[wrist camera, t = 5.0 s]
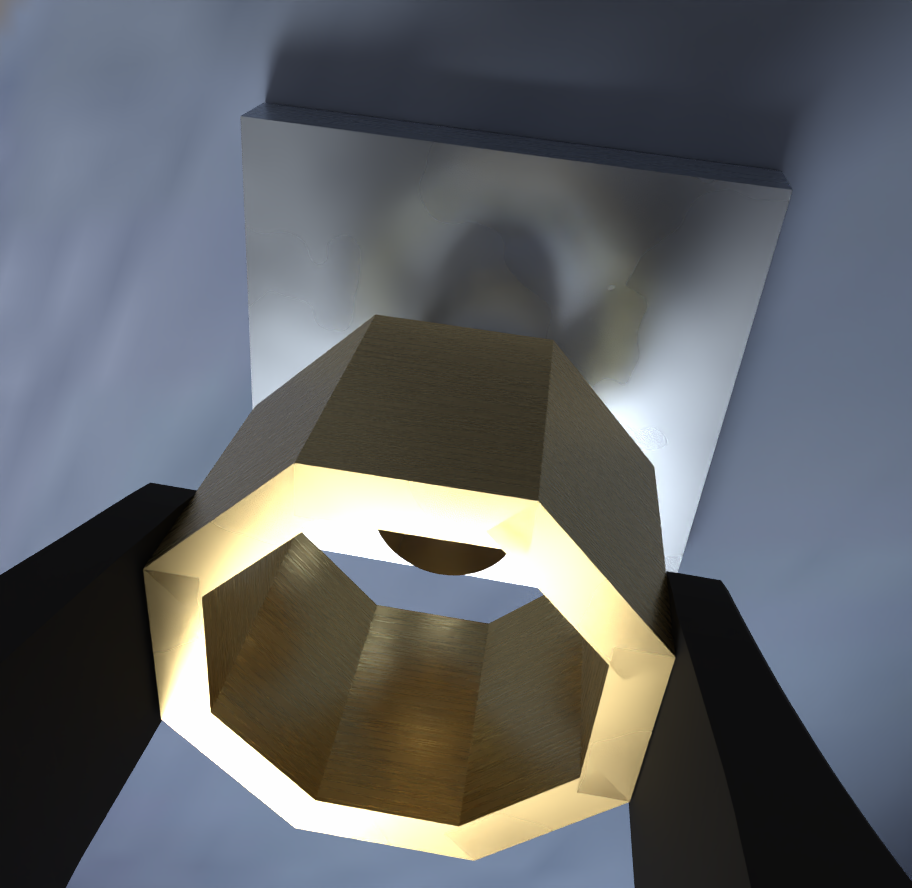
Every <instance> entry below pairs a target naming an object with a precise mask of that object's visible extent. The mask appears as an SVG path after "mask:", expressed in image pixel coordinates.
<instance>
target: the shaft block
mask: <svg viewBox="0 0 912 888" xmlns="http://www.w3.org/2000/svg"><path fill="white" fill-rule="evenodd" d="M241 140H242V164H243V187H244V211H245V235H246V259H247V283H248V306H249V330H250V354H251V378H252V402H253V409H254V407H255V406H256V405H257V404H259V403H260V402H261V401H262V400H264V399H265V398H266V397H268V396H269V395H270V394H272V393H273V392H274V391H276V390H277V389H278V388H280V387H281V386H282V385H283V384H285V383H286V382H287V381H289V380H290V379H291V378H293V377H294V376H295V375H297V374H298V373H299V372H301V371H302V370H303V369H305V368H306V367H307V366H308V365H310V364H311V363H312V362H314V361H315V360H316V359H318V358H319V357H320V356H322V355H323V354H324V353H326V352H327V351H328V350H329V349H331V348H332V347H333V346H335V345H336V344H337V343H339V342H340V341H341V340H343V339H344V338H345V337H347V336H348V335H349V334H351V333H352V332H353V331H354V330H356V329H357V328H358V327H360V326H361V325H362V324H364V323H365V322H366V321H368V320H369V319H370V318H372V317H373V316H374V315H375V314H377V315H384V316H391V317H397V318H404V319H411V320H418V321H425V322H432V323H439V324H446V325H453V326H460V327H467V328H474V329H481V330H488V331H495V332H501V333H508V334H515V335H522V336H529V337H536V338H543V339H550V340H554V341H555V342H556V344H557V345H558V346H559V348H560V349H561V350H562V351H563V353H564V354H565V355H566V356H567V358H568V359H569V360H570V361H571V363H572V364H573V365H574V366H575V368H576V369H577V370H578V371H579V373H580V374H581V375H582V376H583V378H584V379H585V380H586V381H587V383H588V384H589V385H590V386H591V388H592V389H593V390H594V391H595V393H596V394H597V395H598V396H599V398H600V399H601V400H602V401H603V403H604V404H605V405H606V406H607V408H608V409H609V410H610V411H611V413H612V414H613V415H614V416H615V418H616V419H617V420H618V421H619V423H620V424H621V425H622V426H623V428H624V429H625V430H626V431H627V433H628V434H629V435H630V436H631V438H632V439H633V440H634V441H635V443H636V444H637V445H638V446H639V448H640V449H641V450H642V451H643V453H644V454H645V455H646V456H647V458H648V459H649V460H650V461H651V463H652V464H653V465H654V467H655V476H656V485H657V494H658V503H659V512H660V521H661V530H662V539H663V548H664V557H665V567H666V572H667V571H669V572H675V573H678V570H679V566H680V563H681V560H682V556H683V553H684V550H685V546H686V543H687V540H688V536H689V533H690V530H691V526H692V523H693V520H694V516H695V513H696V510H697V506H698V503H699V500H700V496H701V493H702V490H703V486H704V483H705V480H706V476H707V473H708V470H709V466H710V463H711V460H712V456H713V453H714V450H715V446H716V443H717V440H718V436H719V433H720V430H721V426H722V423H723V420H724V416H725V413H726V410H727V406H728V403H729V400H730V396H731V393H732V390H733V386H734V383H735V380H736V376H737V373H738V370H739V367H740V363H741V360H742V357H743V353H744V350H745V347H746V343H747V340H748V337H749V333H750V330H751V327H752V323H753V320H754V317H755V313H756V310H757V307H758V303H759V300H760V297H761V293H762V290H763V287H764V283H765V280H766V277H767V273H768V270H769V267H770V263H771V260H772V257H773V253H774V250H775V247H776V243H777V240H778V237H779V233H780V230H781V227H782V223H783V220H784V217H785V213H786V210H787V207H788V203H789V200H790V197H791V193H792V188H791V187H790V185H789V183H788V181H787V180H786V178H785V176H784V175H783V173H782V171H777V170H769V169H762V168H754V167H747V166H739V165H732V164H724V163H716V162H709V161H701V160H694V159H686V158H679V157H671V156H664V155H656V154H648V153H641V152H633V151H626V150H618V149H611V148H603V147H595V146H588V145H580V144H573V143H565V142H558V141H550V140H542V139H535V138H527V137H520V136H512V135H505V134H497V133H489V132H482V131H474V130H467V129H459V128H452V127H444V126H436V125H429V124H421V123H414V122H406V121H399V120H391V119H384V118H376V117H368V116H361V115H353V114H346V113H338V112H331V111H323V110H315V109H308V108H300V107H293V106H285V105H278V104H270V103H262V104H261V105H259V106H257V107H255V108H254V109H252V110H250V111H249V112H247V113H245V114H243V115H242V116H241ZM303 533H304V534H305V535H306V536H307V537H308V538H309V539H310V540H311V541H312V542H313V543H314V544H315V545H316V546H317V547H318V548H319V549H321V550H327V551H333V552H338V553H344V554H350V555H355V556H361V557H367V558H372V559H378V560H384V561H389V562H395V563H401V564H407V565H412V566H416V567H418V568H420V569H423V570H426V571H429V572H432V573H437V574H443V575H469V576H475V577H481V578H486V579H492V580H498V581H503V582H509V583H515V584H520V585H526V586H532V587H537V586H536V585H535V584H534V583H533V582H532V581H531V580H530V579H529V577H528V576H527V575H526V574H525V573H524V572H523V571H522V570H521V569H520V568H519V567H518V566H517V564H516V563H515V562H514V561H513V560H512V559H511V558H510V557H509V556H508V555H507V554H506V553H505V551H504V550H503V549H498V548H492V547H485V546H479V545H473V544H467V543H460V542H454V541H448V540H442V539H436V538H429V537H423V536H417V535H411V534H404V533H398V532H392V531H386V530H379V529H373V528H367V527H361V526H354V525H348V524H342V523H336V522H329V521H323V520H319V521H318V522H316V523H315V524H313V525H312V526H310V527H309V528H307V529H306V530H304V531H303Z"/></svg>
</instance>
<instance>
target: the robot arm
mask: <svg viewBox="0 0 912 888" xmlns="http://www.w3.org/2000/svg"><path fill="white" fill-rule="evenodd" d="M195 494H196V490H190V489H185V488H179V487H173V486H167V485H161V484H155V483H149V484H147V485H145V486H144V487H142V488H140V489H139V490H137V491H135V492H133V493H132V494H130V495H128V496H127V497H125V498H124V499H122V500H120V501H119V502H117V503H115V504H114V505H112V506H111V507H109V508H107V509H106V510H104V511H103V512H101V513H100V514H98V515H96V516H95V517H93V518H92V519H90V520H88V521H87V522H85V523H84V524H82V525H81V526H79V527H77V528H76V529H74V530H73V531H71V532H69V533H68V534H66V535H65V536H63V537H61V538H60V539H58V540H57V541H55V542H53V543H52V544H50V545H48V546H47V547H45V548H44V549H42V550H40V551H39V552H37V553H35V554H34V555H32V556H31V557H29V558H27V559H26V560H24V561H22V562H21V563H19V564H17V565H16V566H14V567H13V568H11V569H9V570H8V571H6V572H4V573H3V574H1V575H0V888H66V886H67V884H68V882H69V880H70V878H71V877H72V875H73V873H74V871H75V869H76V867H77V865H78V863H79V862H80V860H81V858H82V856H83V854H84V853H85V851H86V849H87V848H88V846H89V844H90V843H91V841H92V839H93V837H94V836H95V834H96V832H97V831H98V829H99V827H100V825H101V824H102V822H103V820H104V819H105V817H106V815H107V813H108V812H109V810H110V808H111V807H112V805H113V803H114V802H115V800H116V798H117V796H118V795H119V793H120V791H121V790H122V788H123V786H124V784H125V783H126V781H127V779H128V778H129V776H130V774H131V772H132V771H133V769H134V767H135V766H136V764H137V762H138V761H139V759H140V757H141V755H142V754H143V752H144V750H145V749H146V747H147V745H148V743H149V742H150V740H151V738H152V736H153V735H154V733H155V731H156V729H157V728H158V726H159V724H160V723H161V721H162V719H161V713H160V705H159V697H158V688H157V680H156V672H155V663H154V655H153V647H152V638H151V630H150V622H149V614H148V605H147V597H146V589H145V580H144V572H143V568H144V567H145V565H146V564H147V563H148V561H149V560H150V558H151V557H152V555H153V554H154V552H155V551H156V550H157V548H158V547H159V545H160V544H161V542H162V541H163V539H164V538H165V536H166V535H167V534H168V532H169V531H170V529H171V528H172V526H173V525H174V523H175V522H176V521H177V519H178V518H179V516H180V515H181V513H182V512H183V511H184V509H185V508H186V506H187V505H188V504H189V502H190V501H191V499H192V498H193V496H194V495H195ZM666 576H667V585H668V594H669V604H670V615H671V627H672V636H673V641H674V648H675V657H676V658H675V660H674V664H673V667H672V670H671V673H670V676H669V679H668V683H667V686H666V689H665V692H664V695H663V698H662V702H661V705H660V708H659V711H658V714H657V717H656V720H655V724H654V727H653V730H652V733H651V736H650V739H649V743H648V746H647V749H646V752H645V755H644V758H643V762H642V765H641V768H640V771H639V774H638V777H637V780H636V784H635V787H634V790H633V793H632V796H631V799H630V802H629V813H630V828H631V843H632V857H633V871H634V885H635V888H912V881H911V880H910V878H909V877H908V876H907V875H906V873H905V872H904V871H903V869H902V868H901V867H900V865H899V864H898V863H897V861H896V860H895V859H894V857H893V856H892V855H891V853H890V852H889V851H888V849H887V848H886V846H885V845H884V844H883V842H882V841H881V840H880V838H879V837H878V835H877V834H876V833H875V831H874V830H873V828H872V827H871V826H870V824H869V823H868V821H867V820H866V819H865V817H864V816H863V814H862V813H861V811H860V810H859V808H858V807H857V806H856V804H855V803H854V801H853V800H852V798H851V797H850V795H849V794H848V792H847V791H846V790H845V788H844V787H843V785H842V784H841V782H840V781H839V779H838V778H837V776H836V775H835V773H834V772H833V770H832V769H831V767H830V766H829V764H828V763H827V761H826V760H825V758H824V756H823V755H822V753H821V752H820V750H819V749H818V747H817V745H816V744H815V742H814V741H813V739H812V737H811V736H810V734H809V733H808V731H807V729H806V728H805V726H804V724H803V723H802V721H801V720H800V718H799V716H798V715H797V713H796V711H795V710H794V708H793V707H792V705H791V703H790V702H789V700H788V698H787V697H786V695H785V693H784V692H783V690H782V688H781V686H780V685H779V683H778V681H777V680H776V678H775V676H774V674H773V673H772V671H771V669H770V667H769V666H768V664H767V662H766V660H765V658H764V657H763V655H762V653H761V651H760V650H759V648H758V646H757V644H756V642H755V640H754V639H753V637H752V635H751V633H750V631H749V629H748V627H747V626H746V624H745V622H744V620H743V618H742V616H741V614H740V612H739V610H738V609H737V607H736V605H735V603H734V601H733V599H732V597H731V595H730V593H729V591H728V590H727V588H726V587H725V585H724V584H723V583H722V581H721V580H716V579H710V578H704V577H698V576H692V575H686V574H681V573H675V572H669V571H667V572H666Z"/></svg>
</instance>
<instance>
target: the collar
mask: <svg viewBox="0 0 912 888" xmlns="http://www.w3.org/2000/svg"><path fill="white" fill-rule="evenodd" d="M319 520H323V521H329V522H336V523H342V524H348V525H354V526H361V527H367V528H373V529H379V530H386V531H392V532H398V533H404V534H411V535H417V536H423V537H429V538H436V539H442V540H448V541H454V542H460V543H467V544H473V545H479V546H485V547H492V548H498V549H503V550H504V551H505V553H506V554H507V555H508V556H509V557H510V558H511V559H512V560H513V561H514V562H515V563H516V564H517V566H518V567H519V568H520V569H521V570H522V571H523V572H524V573H525V574H526V575H527V576H528V577H529V579H530V580H531V581H532V582H533V583H534V584H535V585H536V586H537V587H538V588H539V589H540V591H541V592H542V593H543V594H544V595H543V596H541V597H539V598H537V599H535V600H534V601H532V602H530V603H528V604H526V605H524V606H522V607H520V608H518V609H516V610H514V611H512V612H510V613H508V614H507V615H505V616H503V617H501V618H499V619H497V620H495V621H493V622H491V623H489V624H488V623H482V622H476V621H470V620H464V619H457V618H451V617H445V616H439V615H433V614H427V613H421V612H415V611H409V610H403V609H397V608H391V607H385V606H379V605H376V604H375V603H374V602H373V601H372V600H371V599H370V598H369V597H368V596H367V595H366V594H365V593H364V592H363V591H362V590H361V589H360V588H359V587H358V586H357V585H356V584H355V583H354V582H353V581H352V580H351V579H350V578H349V577H348V576H347V575H346V574H344V573H343V572H342V571H341V570H340V569H339V568H338V567H337V566H336V565H335V564H334V563H333V562H332V561H331V560H330V559H329V558H328V557H327V556H326V555H325V554H324V553H323V552H322V551H321V550H320V549H319V548H318V547H317V546H316V545H315V544H314V543H313V542H312V541H311V540H310V539H309V538H308V537H307V536H306V535H305V534H304V533H303V531H304V530H306V529H307V528H309V527H310V526H312V525H313V524H315V523H316V522H318V521H319ZM143 572H144V580H145V589H146V597H147V605H148V614H149V622H150V630H151V638H152V647H153V655H154V663H155V672H156V680H157V688H158V697H159V705H160V713H161V719H162V720H163V721H165V722H166V723H167V724H168V725H170V726H171V727H172V728H173V729H174V730H176V731H177V732H178V733H179V734H181V735H182V736H183V737H184V738H186V739H187V740H188V741H189V742H190V743H192V744H193V745H194V746H195V747H197V748H198V749H199V750H200V751H202V752H203V753H204V754H205V755H206V756H208V757H209V758H210V759H211V760H213V761H214V762H215V763H216V764H217V765H219V766H220V767H221V768H222V769H224V770H225V771H226V772H227V773H229V774H230V775H231V776H232V777H233V778H235V779H236V780H237V781H238V782H240V783H241V784H242V785H243V786H245V787H246V788H247V789H248V790H249V791H251V792H252V793H253V794H254V795H256V796H257V797H258V798H259V799H261V800H262V801H263V802H264V803H265V804H267V805H268V806H269V807H270V808H272V809H273V810H274V811H275V812H277V813H278V814H279V815H280V816H281V817H283V818H284V819H285V820H286V821H288V822H289V823H290V824H291V825H292V826H294V827H295V828H299V829H305V830H310V831H316V832H321V833H327V834H332V835H338V836H343V837H348V838H354V839H359V840H365V841H370V842H376V843H381V844H387V845H392V846H397V847H403V848H408V849H414V850H419V851H425V852H430V853H436V854H441V855H446V856H452V857H457V858H463V859H468V860H477V859H480V858H482V857H485V856H488V855H490V854H493V853H496V852H498V851H501V850H503V849H506V848H509V847H511V846H514V845H517V844H519V843H522V842H525V841H527V840H530V839H533V838H535V837H538V836H541V835H543V834H546V833H548V832H551V831H554V830H556V829H559V828H562V827H564V826H567V825H570V824H572V823H575V822H578V821H580V820H583V819H585V818H588V817H591V816H593V815H596V814H599V813H601V812H604V811H607V810H609V809H612V808H615V807H617V806H620V805H622V804H625V803H628V802H630V799H631V796H632V793H633V790H634V787H635V784H636V780H637V777H638V774H639V771H640V768H641V765H642V762H643V758H644V755H645V752H646V749H647V746H648V743H649V739H650V736H651V733H652V730H653V727H654V724H655V720H656V717H657V714H658V711H659V708H660V705H661V702H662V698H663V695H664V692H665V689H666V686H667V683H668V679H669V676H670V673H671V670H672V667H673V664H674V660H675V658H676V657H675V648H674V641H673V636H672V627H671V615H670V604H669V594H668V585H667V576H666V567H665V557H664V548H663V539H662V530H661V521H660V512H659V503H658V494H657V485H656V476H655V467H654V465H653V464H652V463H651V461H650V460H649V459H648V458H647V456H646V455H645V454H644V453H643V451H642V450H641V449H640V448H639V446H638V445H637V444H636V443H635V441H634V440H633V439H632V438H631V436H630V435H629V434H628V433H627V431H626V430H625V429H624V428H623V426H622V425H621V424H620V423H619V421H618V420H617V419H616V418H615V416H614V415H613V414H612V413H611V411H610V410H609V409H608V408H607V406H606V405H605V404H604V403H603V401H602V400H601V399H600V398H599V396H598V395H597V394H596V393H595V391H594V390H593V389H592V388H591V386H590V385H589V384H588V383H587V381H586V380H585V379H584V378H583V376H582V375H581V374H580V373H579V371H578V370H577V369H576V368H575V366H574V365H573V364H572V363H571V361H570V360H569V359H568V358H567V356H566V355H565V354H564V353H563V351H562V350H561V349H560V348H559V346H558V345H557V344H556V342H555V341H554V340H550V339H543V338H536V337H529V336H522V335H515V334H508V333H501V332H495V331H488V330H481V329H474V328H467V327H460V326H453V325H446V324H439V323H432V322H425V321H418V320H411V319H404V318H397V317H391V316H384V315H377V314H375V315H374V316H373V317H372V318H370V319H369V320H368V321H366V322H365V323H364V324H362V325H361V326H360V327H358V328H357V329H356V330H354V331H353V332H352V333H351V334H349V335H348V336H347V337H345V338H344V339H343V340H341V341H340V342H339V343H337V344H336V345H335V346H333V347H332V348H331V349H329V350H328V351H327V352H326V353H324V354H323V355H322V356H320V357H319V358H318V359H316V360H315V361H314V362H312V363H311V364H310V365H308V366H307V367H306V368H305V369H303V370H302V371H301V372H299V373H298V374H297V375H295V376H294V377H293V378H291V379H290V380H289V381H287V382H286V383H285V384H283V385H282V386H281V387H280V388H278V389H277V390H276V391H274V392H273V393H272V394H270V395H269V396H268V397H266V398H265V399H264V400H262V401H261V402H260V403H259V404H257V405H256V406H255V407H254V409H253V410H252V412H251V413H250V415H249V416H248V418H247V419H246V420H245V422H244V423H243V425H242V426H241V428H240V429H239V431H238V432H237V433H236V435H235V436H234V438H233V439H232V441H231V442H230V444H229V445H228V447H227V448H226V449H225V451H224V452H223V454H222V455H221V457H220V458H219V460H218V461H217V462H216V464H215V465H214V467H213V468H212V470H211V471H210V473H209V474H208V476H207V477H206V478H205V480H204V481H203V483H202V484H201V486H200V487H199V489H198V490H197V491H196V494H195V495H194V496H193V498H192V499H191V501H190V502H189V504H188V505H187V506H186V508H185V509H184V511H183V512H182V513H181V515H180V516H179V518H178V519H177V521H176V522H175V523H174V525H173V526H172V528H171V529H170V531H169V532H168V534H167V535H166V536H165V538H164V539H163V541H162V542H161V544H160V545H159V547H158V548H157V550H156V551H155V552H154V554H153V555H152V557H151V558H150V560H149V561H148V563H147V564H146V565H145V567H144V568H143Z"/></svg>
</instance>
